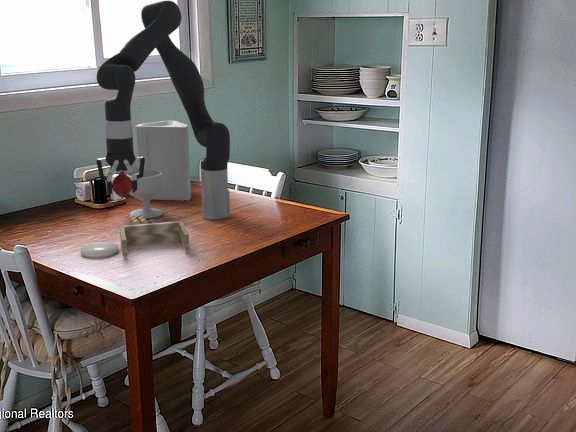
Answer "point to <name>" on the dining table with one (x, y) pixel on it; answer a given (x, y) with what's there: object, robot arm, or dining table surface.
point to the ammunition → (141, 219)
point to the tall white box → (167, 156)
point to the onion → (122, 185)
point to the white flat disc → (99, 250)
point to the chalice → (148, 192)
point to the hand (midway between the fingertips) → (122, 192)
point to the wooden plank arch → (153, 235)
